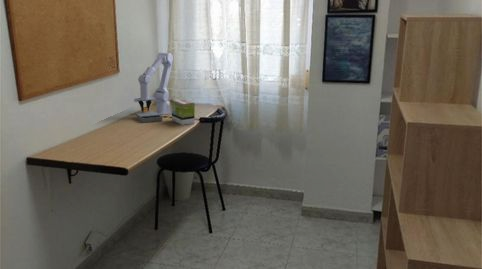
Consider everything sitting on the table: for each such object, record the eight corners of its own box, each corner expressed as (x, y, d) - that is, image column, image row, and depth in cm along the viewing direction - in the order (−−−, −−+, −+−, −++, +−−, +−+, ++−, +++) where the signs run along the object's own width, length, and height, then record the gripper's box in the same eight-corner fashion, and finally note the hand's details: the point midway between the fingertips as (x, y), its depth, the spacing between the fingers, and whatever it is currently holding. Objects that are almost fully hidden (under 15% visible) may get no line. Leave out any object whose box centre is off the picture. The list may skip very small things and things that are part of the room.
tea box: (171, 120, 311) (171, 99, 307) (183, 118, 317) (183, 98, 313) (182, 125, 299) (182, 103, 295) (195, 123, 305) (195, 102, 301)
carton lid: (153, 111, 321) (153, 106, 320) (159, 115, 311) (159, 109, 310) (134, 113, 314) (134, 107, 313) (140, 117, 304) (140, 111, 303)
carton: (156, 117, 318) (156, 113, 317) (162, 121, 308) (162, 116, 307) (136, 119, 311) (136, 114, 310) (142, 123, 301) (142, 118, 300)
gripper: (136, 93, 305) (136, 113, 309) (156, 92, 313) (156, 111, 316) (133, 91, 311) (133, 111, 315) (153, 90, 318) (153, 109, 322)
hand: (145, 111), depth 316 cm, fingers closed on carton lid, 3 cm apart
